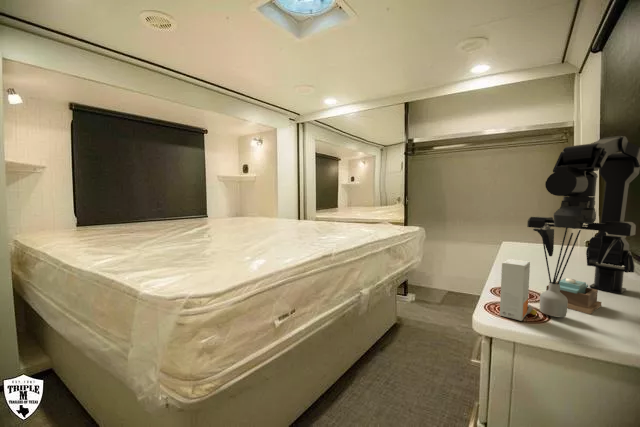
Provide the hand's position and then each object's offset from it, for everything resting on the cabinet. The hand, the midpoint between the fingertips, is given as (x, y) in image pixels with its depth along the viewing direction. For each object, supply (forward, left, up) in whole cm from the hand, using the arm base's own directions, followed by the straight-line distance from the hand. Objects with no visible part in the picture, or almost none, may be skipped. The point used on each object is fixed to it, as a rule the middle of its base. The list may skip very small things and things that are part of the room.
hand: (573, 259), depth 68 cm
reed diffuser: (+14, +1, -11) cm, 18 cm away
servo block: (0, 0, -10) cm, 10 cm away
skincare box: (+20, -4, -11) cm, 23 cm away
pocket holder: (0, 0, -11) cm, 11 cm away
